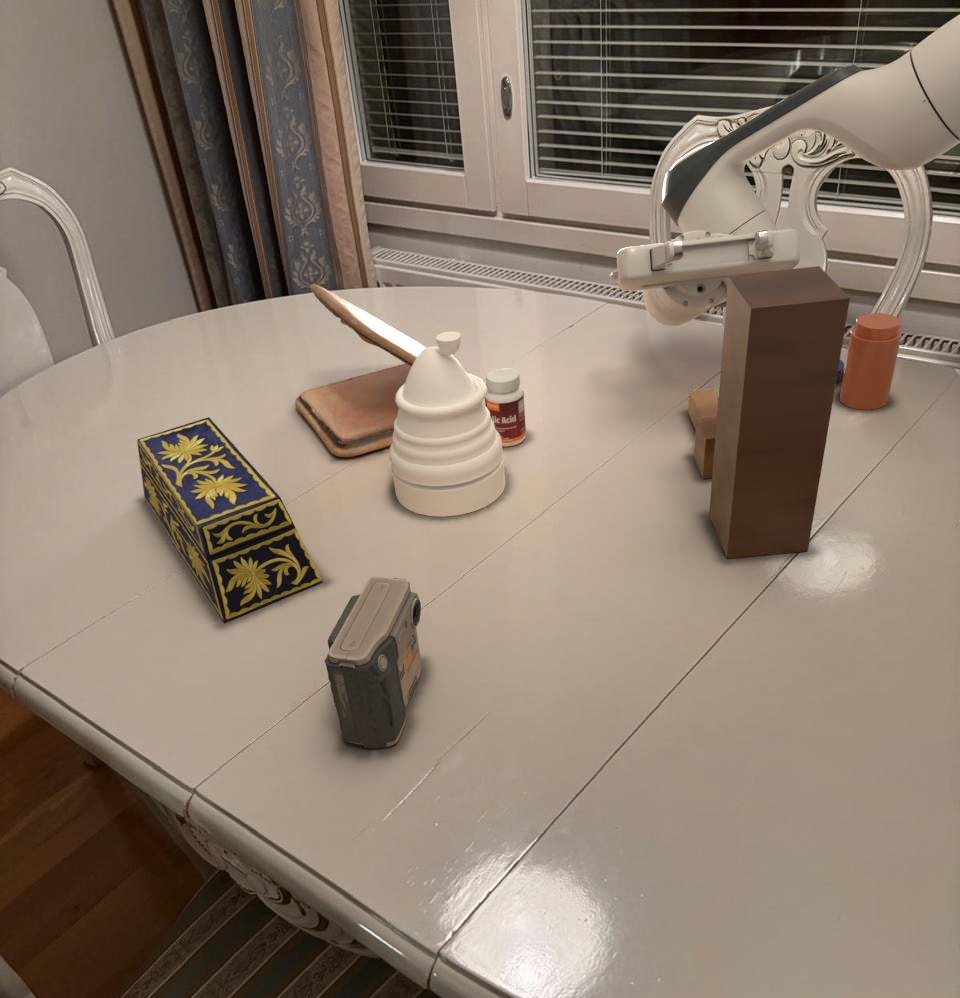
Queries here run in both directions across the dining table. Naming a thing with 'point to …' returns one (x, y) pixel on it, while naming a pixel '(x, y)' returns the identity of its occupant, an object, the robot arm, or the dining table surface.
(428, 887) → the dining table surface
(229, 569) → the decorative box
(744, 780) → the dining table surface
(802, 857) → the dining table surface
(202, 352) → the dining table surface
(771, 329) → the pedestal
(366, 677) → the camera
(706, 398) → the brown wooden block
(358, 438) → the case
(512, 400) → the pill bottle
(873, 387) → the jar
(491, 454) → the honey pot
